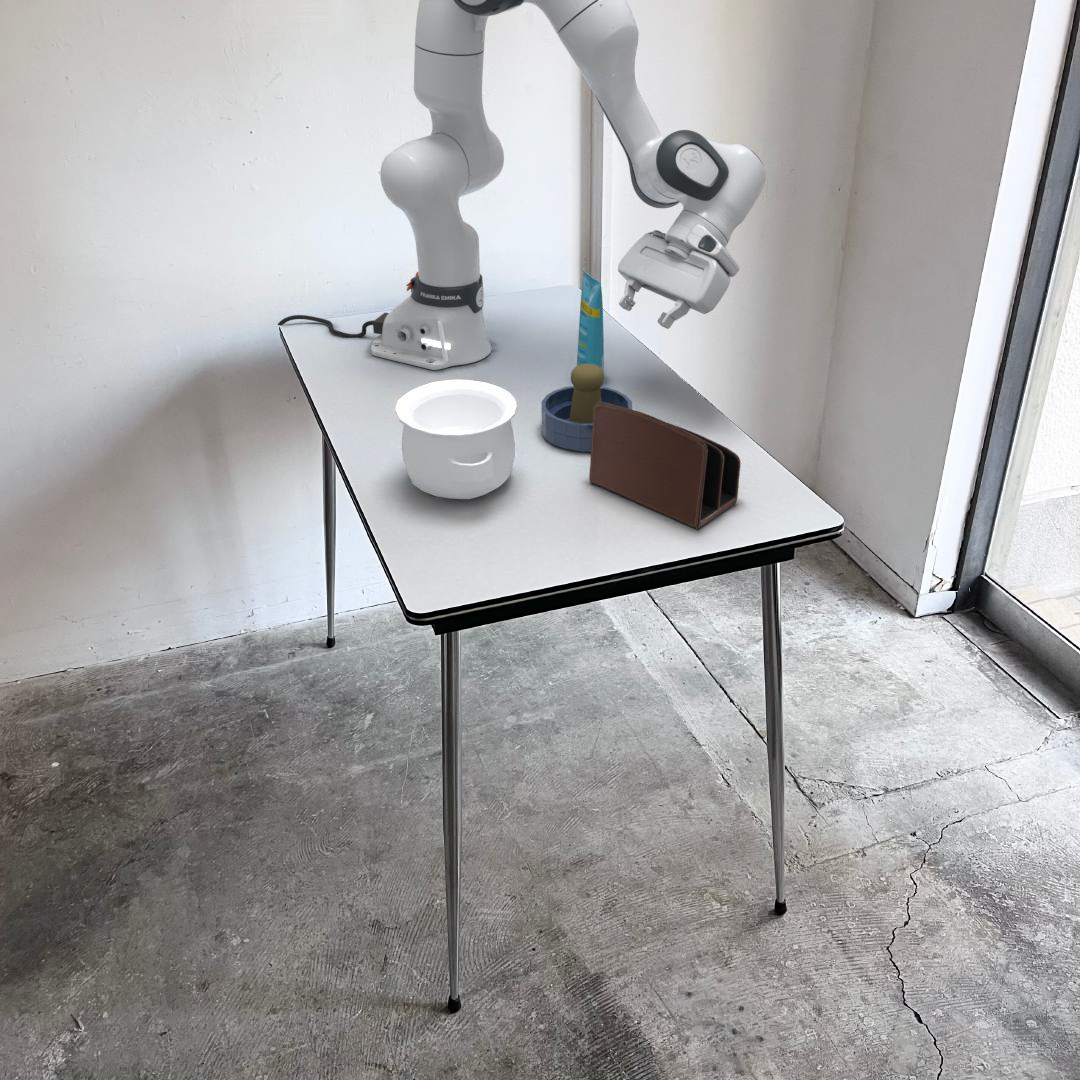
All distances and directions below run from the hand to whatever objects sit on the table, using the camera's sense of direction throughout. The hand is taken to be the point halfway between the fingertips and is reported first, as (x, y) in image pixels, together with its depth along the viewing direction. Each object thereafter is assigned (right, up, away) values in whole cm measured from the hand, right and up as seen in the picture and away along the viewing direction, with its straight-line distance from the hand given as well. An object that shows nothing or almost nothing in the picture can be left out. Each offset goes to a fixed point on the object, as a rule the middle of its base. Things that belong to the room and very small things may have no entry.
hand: (642, 316), depth 171 cm
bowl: (-9, -18, +4) cm, 20 cm away
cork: (-9, -18, +4) cm, 20 cm away
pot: (-28, -26, -9) cm, 40 cm away
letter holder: (+2, -28, -12) cm, 31 cm away
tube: (-7, -7, +21) cm, 23 cm away
